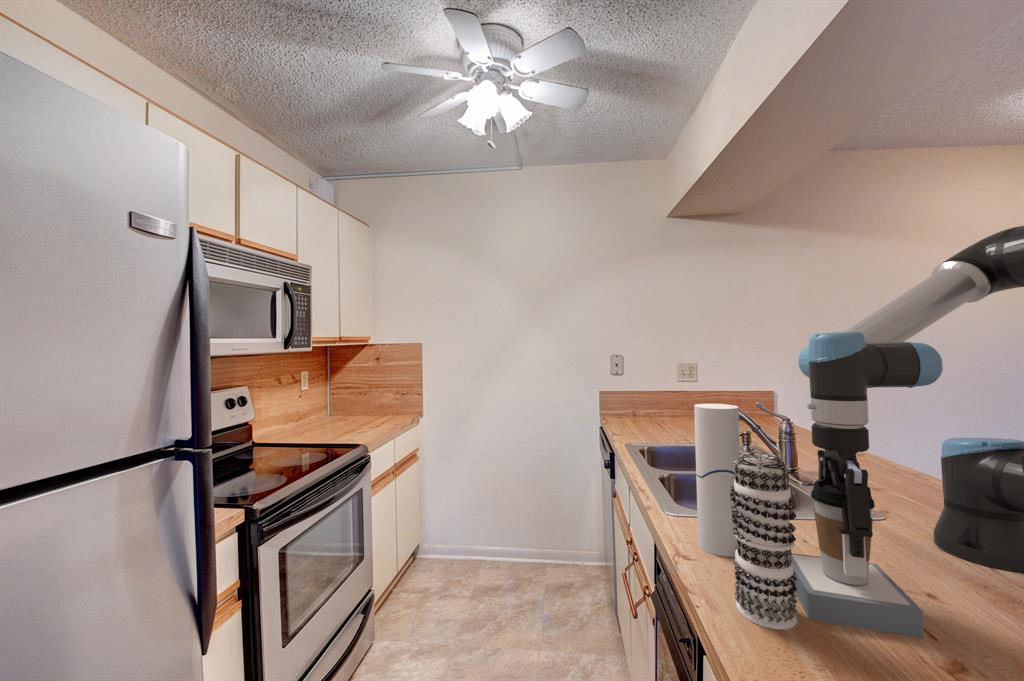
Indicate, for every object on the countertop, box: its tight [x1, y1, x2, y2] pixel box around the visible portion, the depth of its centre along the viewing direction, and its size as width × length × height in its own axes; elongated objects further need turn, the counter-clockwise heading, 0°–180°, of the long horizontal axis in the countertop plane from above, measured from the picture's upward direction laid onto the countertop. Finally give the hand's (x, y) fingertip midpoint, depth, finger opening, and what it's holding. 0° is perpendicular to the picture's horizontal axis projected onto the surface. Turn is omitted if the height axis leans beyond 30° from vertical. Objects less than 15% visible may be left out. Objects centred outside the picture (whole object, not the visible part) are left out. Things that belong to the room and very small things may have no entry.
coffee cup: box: [810, 479, 876, 585], centre depth 69 cm, size 8×8×15 cm
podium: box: [791, 552, 925, 640], centre depth 69 cm, size 14×14×4 cm
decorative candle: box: [730, 451, 799, 630], centre depth 67 cm, size 9×9×25 cm
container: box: [693, 403, 741, 558], centre depth 89 cm, size 9×9×30 cm
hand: (844, 562), depth 69 cm, fingers closed on coffee cup, 8 cm apart
